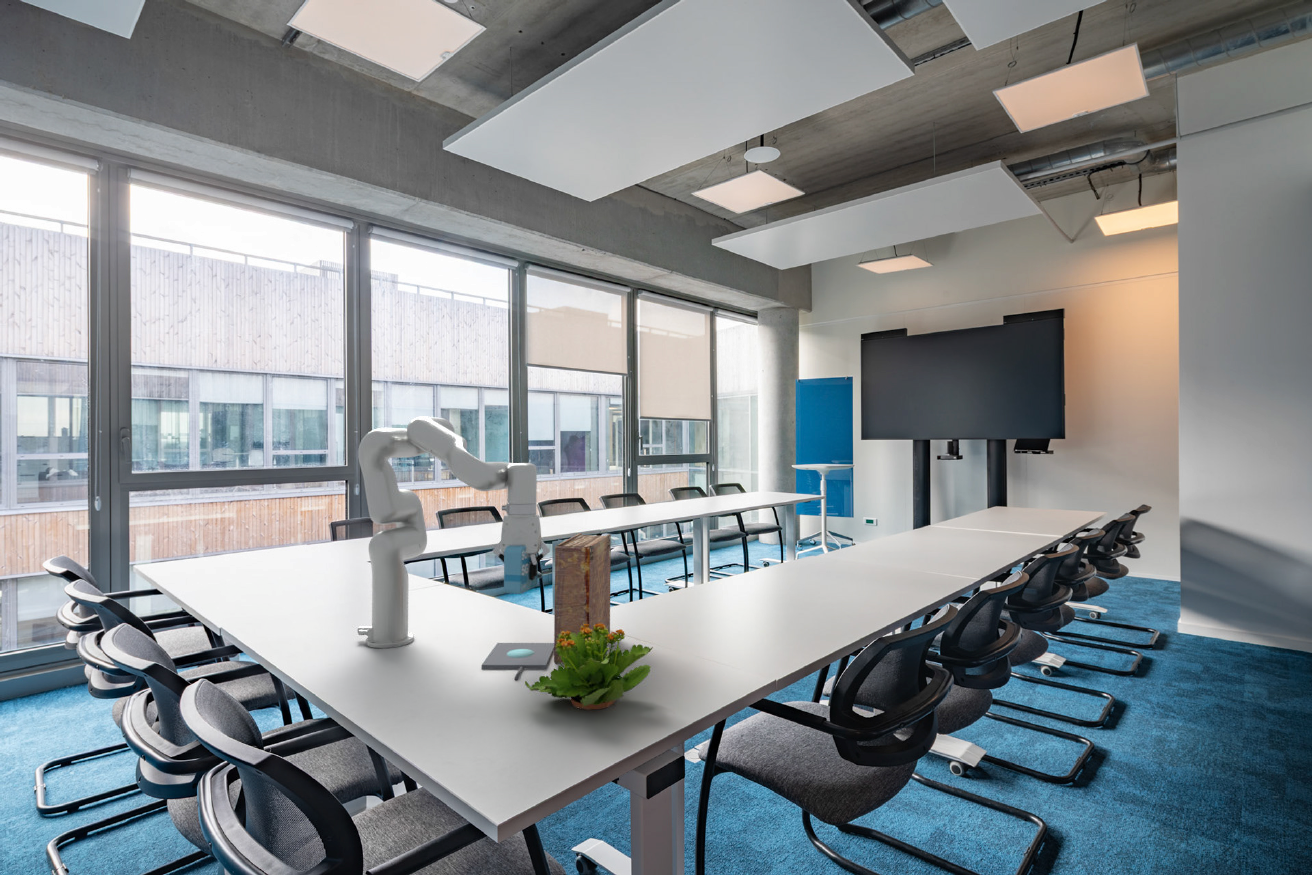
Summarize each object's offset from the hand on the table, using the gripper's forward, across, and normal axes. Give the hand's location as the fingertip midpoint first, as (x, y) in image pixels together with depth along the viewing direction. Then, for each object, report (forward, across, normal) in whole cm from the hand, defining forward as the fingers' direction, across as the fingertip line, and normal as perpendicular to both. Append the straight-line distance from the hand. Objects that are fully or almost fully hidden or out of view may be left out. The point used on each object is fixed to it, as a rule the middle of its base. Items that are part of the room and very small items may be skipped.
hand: (521, 578), depth 173 cm
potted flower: (+21, +22, -29) cm, 42 cm away
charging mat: (+21, 0, -4) cm, 21 cm away
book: (+21, +16, +7) cm, 27 cm away
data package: (+3, 0, 0) cm, 3 cm away
